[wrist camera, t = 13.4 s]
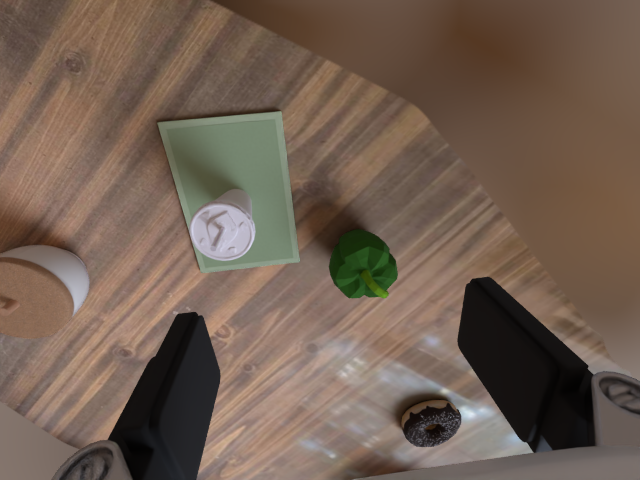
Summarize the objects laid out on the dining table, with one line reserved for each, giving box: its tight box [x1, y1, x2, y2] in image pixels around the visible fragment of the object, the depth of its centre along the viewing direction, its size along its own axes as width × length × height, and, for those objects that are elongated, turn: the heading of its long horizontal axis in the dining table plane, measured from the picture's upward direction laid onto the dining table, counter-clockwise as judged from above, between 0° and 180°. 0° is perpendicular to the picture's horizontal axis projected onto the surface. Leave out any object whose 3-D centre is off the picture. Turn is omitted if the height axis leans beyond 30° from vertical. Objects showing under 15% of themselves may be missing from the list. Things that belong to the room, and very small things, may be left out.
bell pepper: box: [329, 229, 398, 298], centre depth 40 cm, size 8×8×10 cm
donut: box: [401, 400, 461, 447], centre depth 60 cm, size 11×12×4 cm
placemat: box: [157, 111, 300, 273], centre depth 39 cm, size 20×14×1 cm
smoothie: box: [189, 189, 255, 261], centre depth 33 cm, size 6×6×14 cm
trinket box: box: [0, 245, 90, 338], centre depth 37 cm, size 11×11×9 cm
